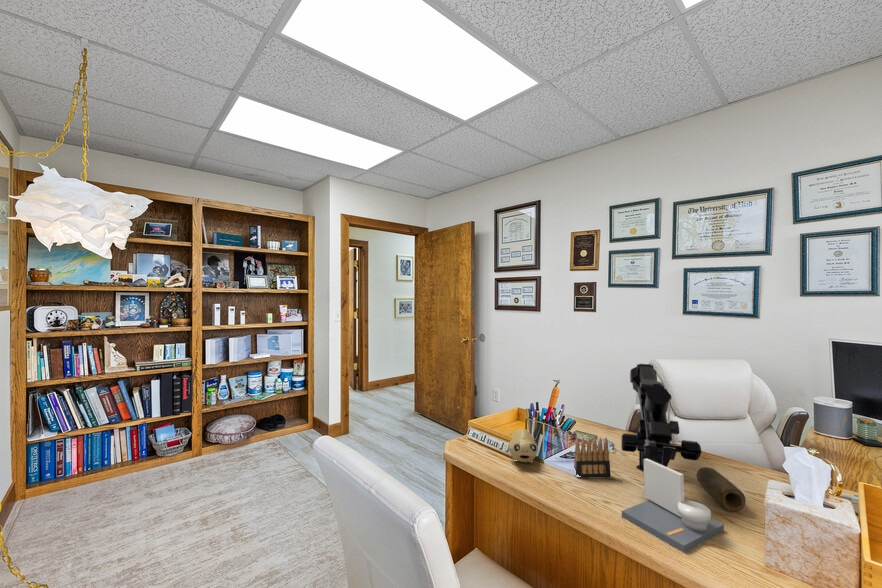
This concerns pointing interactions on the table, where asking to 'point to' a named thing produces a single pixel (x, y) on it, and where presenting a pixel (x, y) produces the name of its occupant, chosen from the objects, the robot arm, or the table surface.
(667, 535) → the base board
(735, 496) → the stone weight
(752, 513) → the table surface
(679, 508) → the white piece
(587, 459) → the ammunition clip
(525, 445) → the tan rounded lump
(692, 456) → the robot arm
